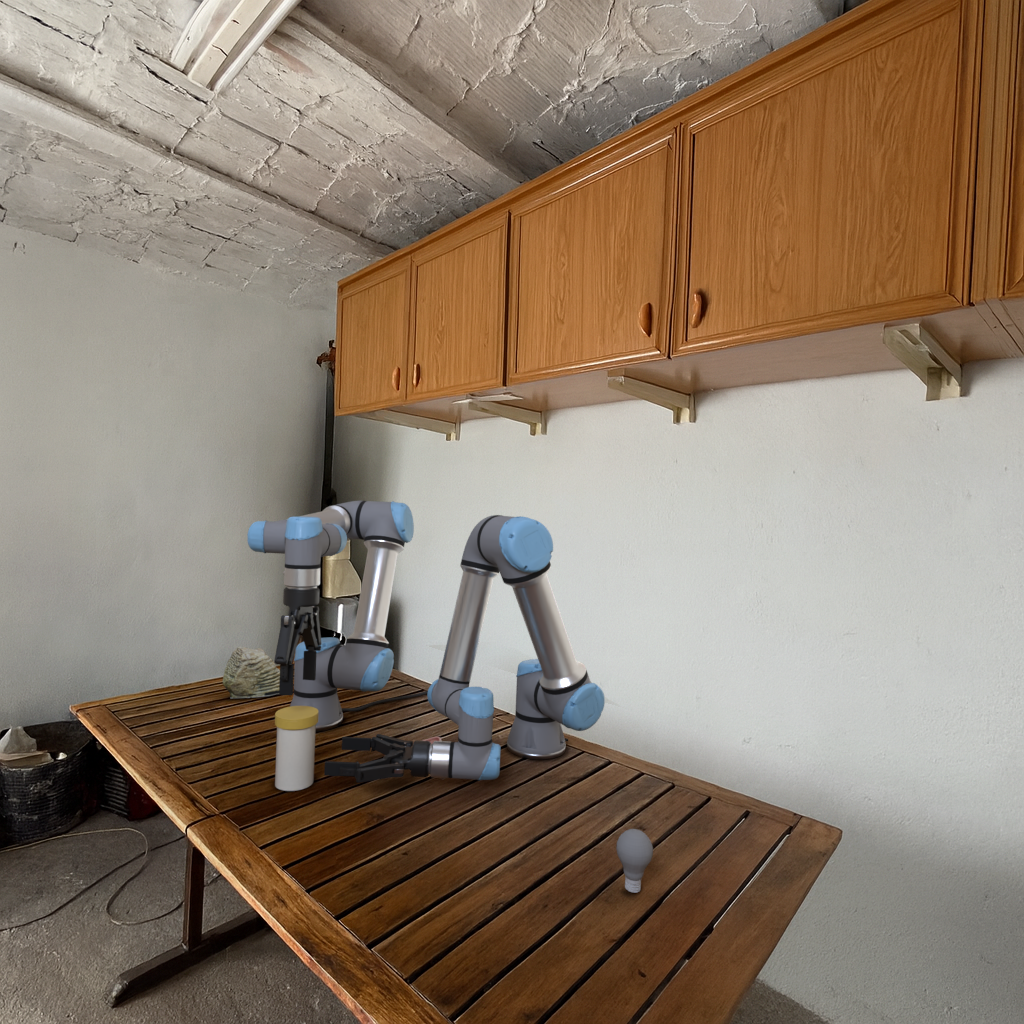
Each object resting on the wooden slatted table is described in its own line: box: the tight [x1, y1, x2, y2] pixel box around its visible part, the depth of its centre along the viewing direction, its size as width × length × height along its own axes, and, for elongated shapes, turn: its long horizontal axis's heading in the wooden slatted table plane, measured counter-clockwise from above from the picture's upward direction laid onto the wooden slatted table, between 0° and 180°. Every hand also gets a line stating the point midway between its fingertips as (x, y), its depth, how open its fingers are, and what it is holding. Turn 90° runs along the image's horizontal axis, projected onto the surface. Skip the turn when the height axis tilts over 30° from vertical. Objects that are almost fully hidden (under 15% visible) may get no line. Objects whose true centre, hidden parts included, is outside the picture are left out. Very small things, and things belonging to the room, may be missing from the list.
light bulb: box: [615, 828, 654, 894], centre depth 106 cm, size 6×6×10 cm
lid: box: [274, 706, 318, 730], centre depth 139 cm, size 9×9×2 cm
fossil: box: [222, 646, 280, 699], centre depth 198 cm, size 9×18×15 cm, turn 132°
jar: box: [274, 725, 317, 792], centre depth 140 cm, size 8×8×15 cm
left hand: (298, 686), depth 139 cm, fingers open, 11 cm apart
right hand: (333, 755), depth 139 cm, fingers open, 13 cm apart
